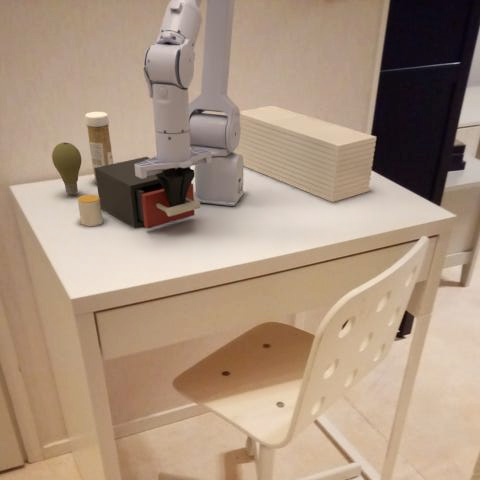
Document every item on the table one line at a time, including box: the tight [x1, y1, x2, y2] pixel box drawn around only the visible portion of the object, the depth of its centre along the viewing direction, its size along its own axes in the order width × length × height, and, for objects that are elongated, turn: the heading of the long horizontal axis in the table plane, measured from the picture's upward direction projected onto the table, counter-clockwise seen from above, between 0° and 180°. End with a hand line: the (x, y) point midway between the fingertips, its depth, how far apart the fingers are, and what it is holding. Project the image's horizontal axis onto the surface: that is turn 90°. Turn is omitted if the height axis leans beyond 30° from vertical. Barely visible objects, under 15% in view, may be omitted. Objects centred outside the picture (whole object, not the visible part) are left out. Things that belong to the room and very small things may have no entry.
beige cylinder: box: [77, 194, 104, 227], centre depth 112 cm, size 4×4×4 cm
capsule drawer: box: [134, 182, 201, 229], centre depth 112 cm, size 16×10×6 cm, turn 40°
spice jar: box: [84, 111, 114, 185], centre depth 126 cm, size 5×5×14 cm
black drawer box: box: [95, 156, 160, 229], centre depth 115 cm, size 13×12×8 cm
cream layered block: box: [234, 105, 377, 203], centre depth 131 cm, size 32×11×11 cm, turn 38°
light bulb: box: [51, 142, 82, 197], centre depth 121 cm, size 6×6×10 cm
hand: (176, 211), depth 109 cm, fingers closed, pressing on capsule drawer
